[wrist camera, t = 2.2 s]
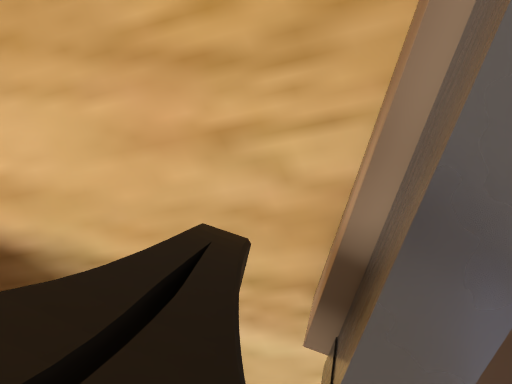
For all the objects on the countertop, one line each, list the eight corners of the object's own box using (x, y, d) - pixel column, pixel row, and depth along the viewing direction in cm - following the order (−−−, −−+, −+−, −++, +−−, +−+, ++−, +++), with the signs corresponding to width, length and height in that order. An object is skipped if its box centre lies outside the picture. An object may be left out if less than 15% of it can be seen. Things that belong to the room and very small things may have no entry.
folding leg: (497, -60, 7) (550, -97, 5) (645, -31, 7) (771, -57, 5) (323, 365, 12) (312, 442, 10) (406, 397, 12) (414, 483, 10)
